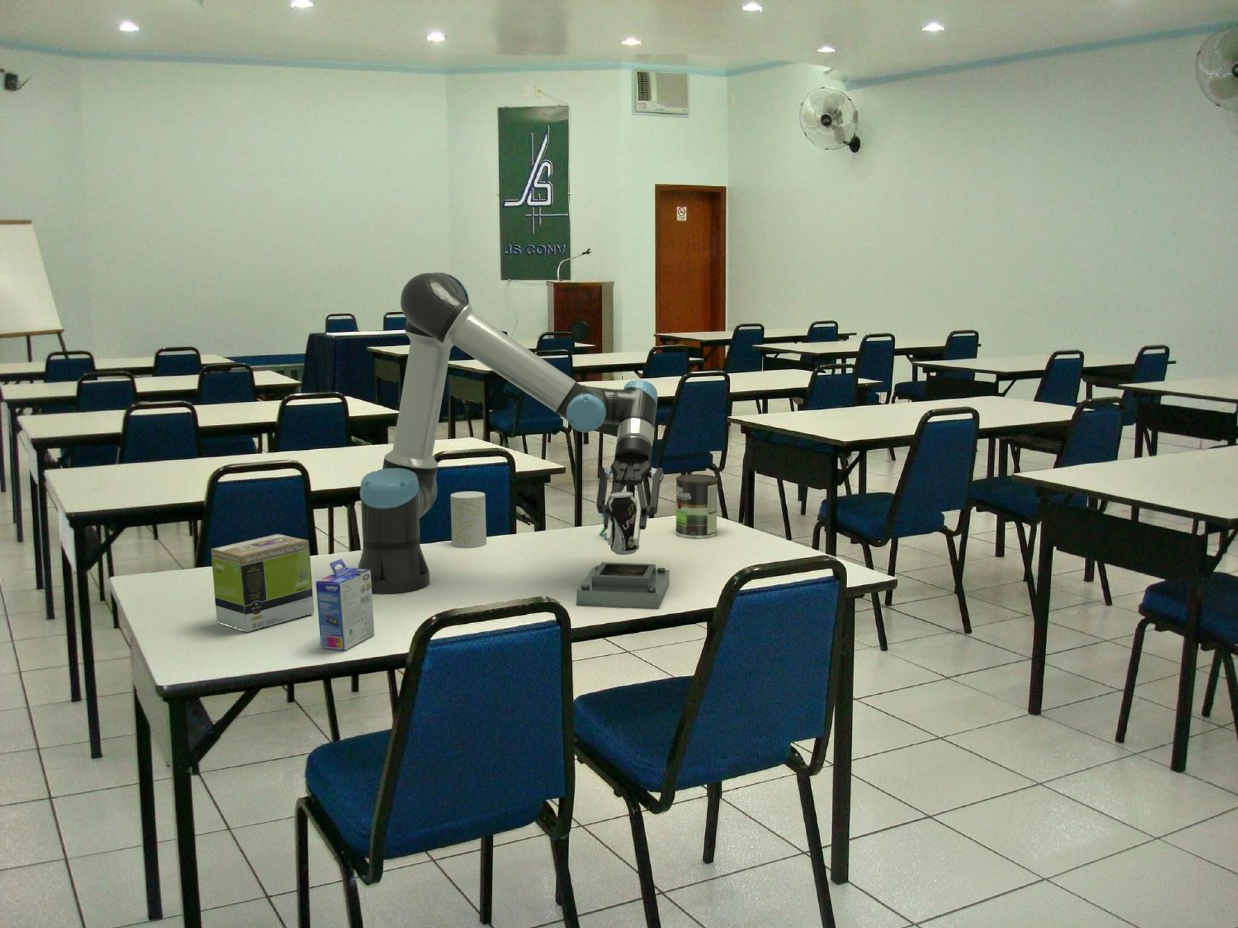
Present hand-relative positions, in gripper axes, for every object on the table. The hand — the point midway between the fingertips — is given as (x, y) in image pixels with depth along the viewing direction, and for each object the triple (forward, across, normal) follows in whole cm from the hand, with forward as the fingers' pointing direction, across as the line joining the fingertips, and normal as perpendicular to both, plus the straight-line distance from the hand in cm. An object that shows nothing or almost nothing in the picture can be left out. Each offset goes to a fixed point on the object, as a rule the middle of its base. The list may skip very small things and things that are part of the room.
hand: (622, 541), depth 227 cm
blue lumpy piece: (-29, +10, -46) cm, 55 cm away
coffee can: (-33, -9, -51) cm, 61 cm away
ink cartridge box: (+32, +44, +15) cm, 56 cm away
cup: (-21, +44, -38) cm, 62 cm away
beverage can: (0, 0, -5) cm, 5 cm away
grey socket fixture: (+6, 0, -11) cm, 12 cm away
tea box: (+24, +64, +8) cm, 69 cm away
